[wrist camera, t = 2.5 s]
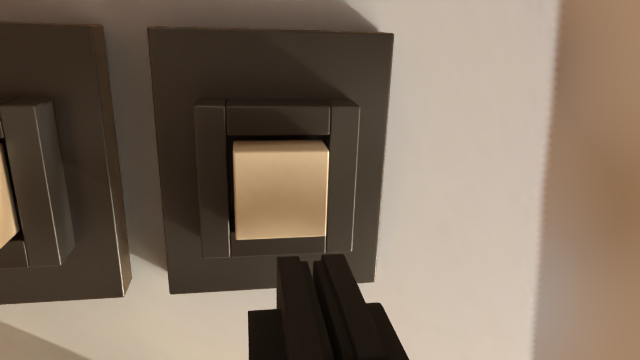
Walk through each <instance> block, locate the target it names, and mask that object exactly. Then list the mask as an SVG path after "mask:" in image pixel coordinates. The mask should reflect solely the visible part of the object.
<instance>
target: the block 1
mask: <svg viewBox="0 0 640 360" xmlns="http://www.w3.org/2000/svg"><path fill="white" fill-rule="evenodd" d="M0 143H2V144H3V147H4V152H5V158H6V163H7V168H8V173H9V178H10V183H11V188H12V194H13V199H14V204H15V209H16V214H17V219H18V224H19V231H18V232H17V233H16V234H15V235H14V236H13V237H12V238H11V239H10V240H9V241H8V242H7V243H6V244H5V245H4V246H3V247H2V248H1V249H0V305H2V304H19V303H35V302H52V301H69V300H85V299H102V298H119V297H124V296H125V294H126V291H127V289H128V287H129V284H130V282H131V279H132V274H131V266H130V257H129V248H128V239H127V230H126V222H125V213H124V204H123V195H122V186H121V178H120V169H119V160H118V151H117V142H116V134H115V125H114V116H113V107H112V98H111V90H110V81H109V72H108V63H107V54H106V46H105V37H104V28H103V25H101V24H65V23H29V22H0Z"/></svg>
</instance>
